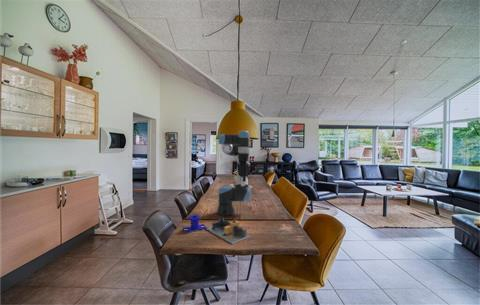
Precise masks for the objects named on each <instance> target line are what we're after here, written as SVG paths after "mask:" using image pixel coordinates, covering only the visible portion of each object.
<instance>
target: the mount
mask: <svg viewBox="0 0 480 305" xmlns="http://www.w3.org/2000/svg"><path fill="white" fill-rule="evenodd" d="M188 220H189V221H190V225H189V226H183V227H182V228H183V229H182V230H184V229H188V230H184V231H185V232H189V233H191V232H190V231H194V232H196V231H195V230H200V231H202V230H201V229H205V230H206V228H207V226H206V225H205V224H204V223H203V224H202V223H201V224H199V223H200V221H199V220H201V216H200V215H198V214H192V215H190V216H189V217H188ZM201 226H204V227H201ZM185 232H184V233H185Z"/></svg>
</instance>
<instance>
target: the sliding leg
mask: <svg viewBox="0 0 480 305" xmlns="http://www.w3.org/2000/svg"><path fill="white" fill-rule="evenodd" d="M229 222H230V225H229V226H226V227H224V234H225V235H227V234H230V233H233V227H234V226H240V221H238V220H236V219H232V221H229Z"/></svg>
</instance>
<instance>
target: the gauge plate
mask: <svg viewBox="0 0 480 305" xmlns="http://www.w3.org/2000/svg"><path fill="white" fill-rule="evenodd" d="M220 217H221V218H218V221H214V222H212V225H211V226H208V227H207V226H206V227H207V228H206V229H207V230H206V229H205V230H206V231H208V230H209V231H208V232H210V233H211V232H212V234H213V235H216V236H217V237H219V238H221V239H222V240H224V241H225V242H227V243H229V244H231V245H234V244H237V243H238V242H241V241H244V240H246V239H249V238H250V235H249V234H247V233H248V232H247V229H245V228H244V227H241V226H240V225H237V226H234V227H233V233H230V234H227V235H225V234H224V227H226V226H229V225H230V222H231V221H228V220H226V219H225V216H220Z"/></svg>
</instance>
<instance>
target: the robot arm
mask: <svg viewBox="0 0 480 305" xmlns="http://www.w3.org/2000/svg"><path fill="white" fill-rule="evenodd" d="M249 133H250V132H249V131H248V130H239V131H238V134H229V133H228V134H227V133H226V134H225V133H222V134H219V135H218V139H217V140H218V144H219V145H221V150H222V152H223V153H224V154H226V155H227V156H230V157H231V156H232V157H235V159H236V162H235V163H236V184H235V185H234V187H233V185H223V186H220V187H219V189H218V206H217V209H216V215H217V216H219V217H231V216H233V215H235V209H234V205H233V202H242V203H244V202H248V201H249V200H250V197H251V196H250V195H251V187H249V184H248V181H247V180H248V179H247V177H249V171H250V167H251V163H250V162H249V157H250V146H249V143H250V142H249V141H250V138H249V137H250V134H249Z"/></svg>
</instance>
